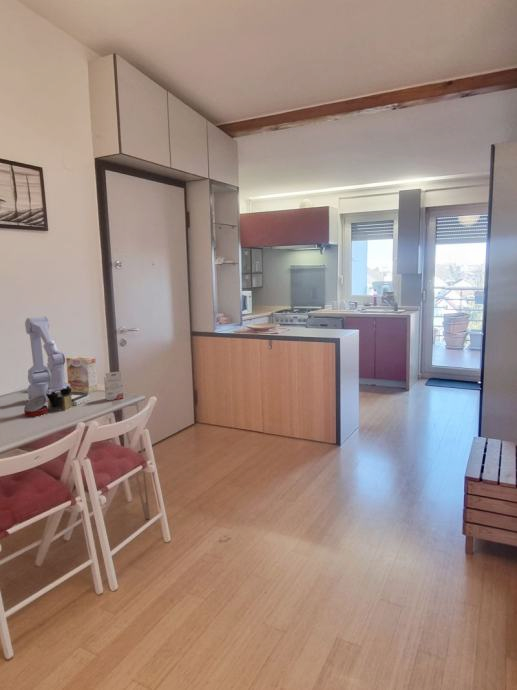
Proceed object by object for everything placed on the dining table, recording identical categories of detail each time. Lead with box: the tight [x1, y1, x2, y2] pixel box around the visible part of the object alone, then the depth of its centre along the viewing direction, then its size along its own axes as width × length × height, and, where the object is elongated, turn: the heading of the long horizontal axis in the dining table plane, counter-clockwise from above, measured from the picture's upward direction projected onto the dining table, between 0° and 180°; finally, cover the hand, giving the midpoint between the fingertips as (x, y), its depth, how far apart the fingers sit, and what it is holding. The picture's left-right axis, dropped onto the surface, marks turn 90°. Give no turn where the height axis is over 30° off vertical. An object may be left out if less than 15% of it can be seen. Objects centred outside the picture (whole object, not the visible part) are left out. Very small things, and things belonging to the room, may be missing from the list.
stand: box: [69, 392, 92, 406], centre depth 234 cm, size 14×11×3 cm
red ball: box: [24, 395, 49, 418], centre depth 213 cm, size 11×10×10 cm
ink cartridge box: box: [103, 371, 124, 401], centre depth 238 cm, size 9×5×15 cm, turn 118°
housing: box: [46, 393, 73, 411], centre depth 222 cm, size 10×5×6 cm, turn 74°
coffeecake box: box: [65, 355, 98, 394], centre depth 255 cm, size 15×7×20 cm, turn 68°
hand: (59, 405), depth 222 cm, fingers open, 7 cm apart
